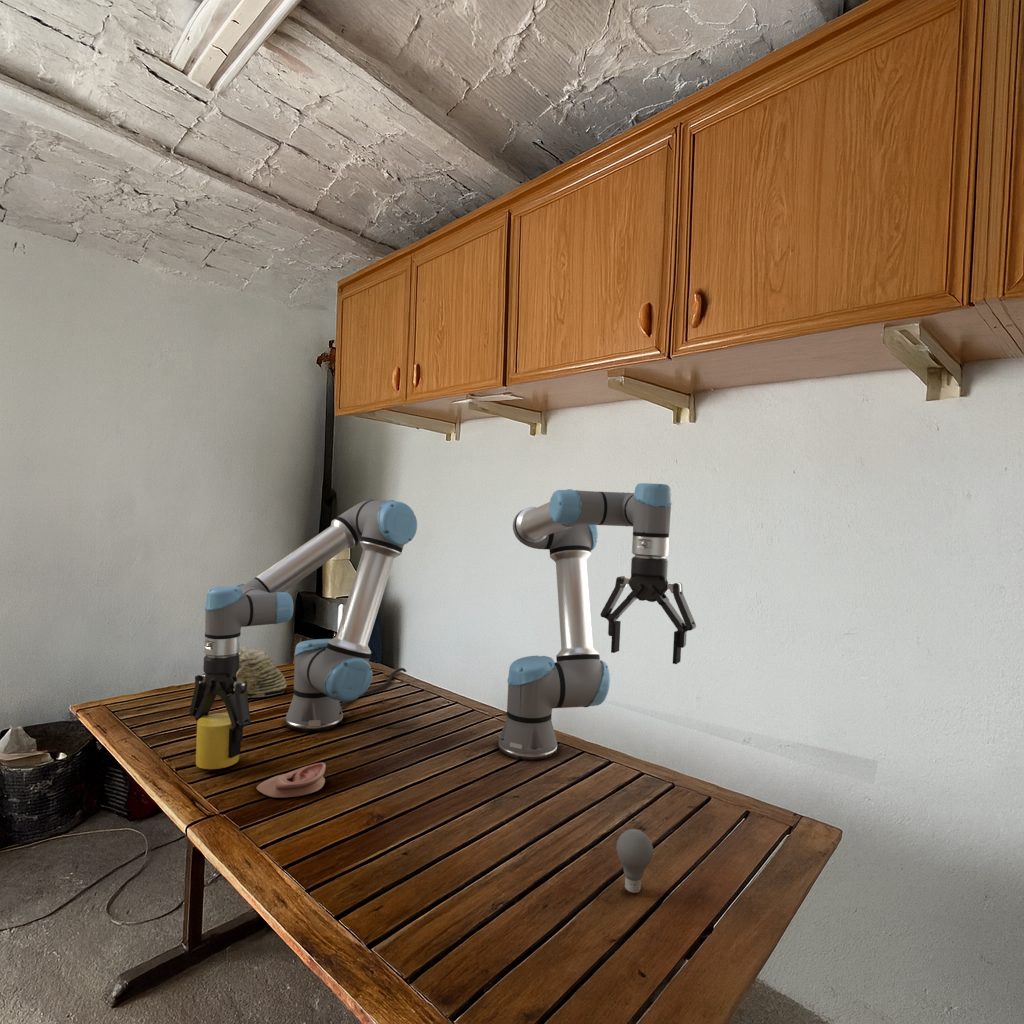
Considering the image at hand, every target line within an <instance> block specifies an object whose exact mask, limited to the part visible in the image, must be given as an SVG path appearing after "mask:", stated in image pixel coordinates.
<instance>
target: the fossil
mask: <svg viewBox="0 0 1024 1024" xmlns="http://www.w3.org/2000/svg"><path fill="white" fill-rule="evenodd" d="M237 654H239V656H240V659H239V670H238V671H237V673H236V677H237V681H240V682H244V681H246V682H247V683H248V685H247V697H248V699H250V698H264V697H271V696H275V695H281V694H284V693H285V691H286V689H287V687H288V686H287V680H286V678H285V676H284V674H283V673H282V672H281V669H279V668H278V667H277V665H276V663H275V662H274V660H273V659H272V658H271V657H270V656H269V655H268V654H267V653H266V652H265V650H264V649H263V648H260V647H258V648H251V647H247V646H246V647H245V646H240V652H239V653H237ZM229 695H231V693H230V694H229Z"/></svg>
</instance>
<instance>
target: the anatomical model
mask: <svg viewBox="0 0 1024 1024" xmlns="http://www.w3.org/2000/svg"><path fill="white" fill-rule="evenodd" d="M326 768H327V765H326V763H325V762H316V763H313V764H309V765H306V766H302V767H300V768H297V769H294V770H292V771H289V772H286V773H282V774H278V775H275V776H273V777H270V778H267V779H265V780H264V781H262V782H261V783H259V784H258V785H256V790H257V792H259V793H261V794H263V795H264V796H267V797H270V798H275V799H278V798H293V797H294V798H295V797H300V796H301V797H302V796H306V795H309V794H312V793H315V792H318V791H320V790H321V789H322V788H323V787H324V785H325V783H326V778H325V777H324V775H325V772H326V770H327V769H326Z"/></svg>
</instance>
